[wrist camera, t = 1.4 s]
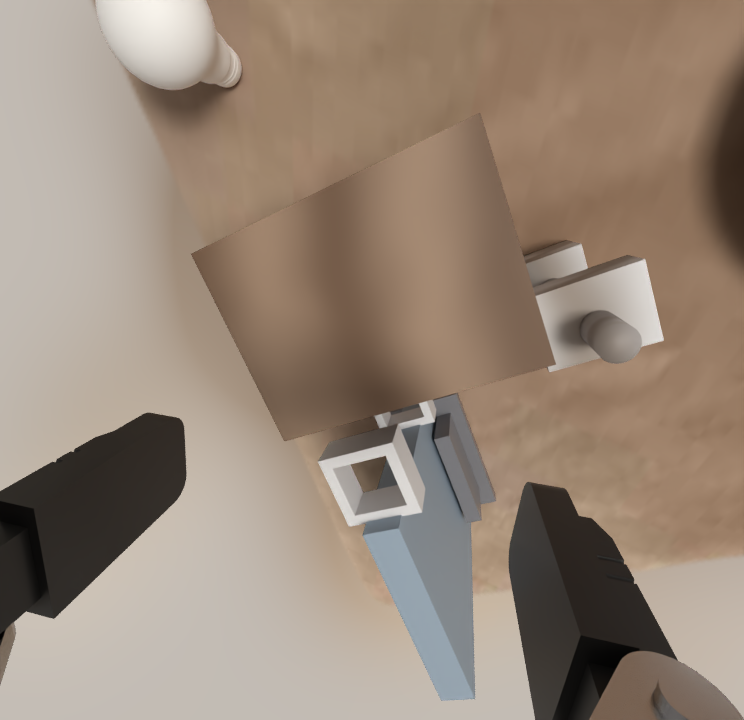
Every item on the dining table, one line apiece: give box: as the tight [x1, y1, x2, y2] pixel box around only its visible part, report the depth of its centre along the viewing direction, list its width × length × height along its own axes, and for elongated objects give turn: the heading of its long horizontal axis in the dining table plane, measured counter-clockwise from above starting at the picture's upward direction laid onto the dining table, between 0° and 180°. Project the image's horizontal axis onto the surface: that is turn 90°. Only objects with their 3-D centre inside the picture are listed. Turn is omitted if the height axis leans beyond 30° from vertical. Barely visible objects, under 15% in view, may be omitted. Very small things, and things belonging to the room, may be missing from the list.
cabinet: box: [191, 113, 664, 441], centre depth 24 cm, size 17×11×18 cm, turn 113°
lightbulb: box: [95, 0, 242, 90], centre depth 26 cm, size 6×6×11 cm
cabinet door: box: [318, 400, 475, 700], centre depth 29 cm, size 4×16×16 cm, turn 23°
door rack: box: [390, 393, 496, 523], centre depth 36 cm, size 7×11×5 cm, turn 23°
